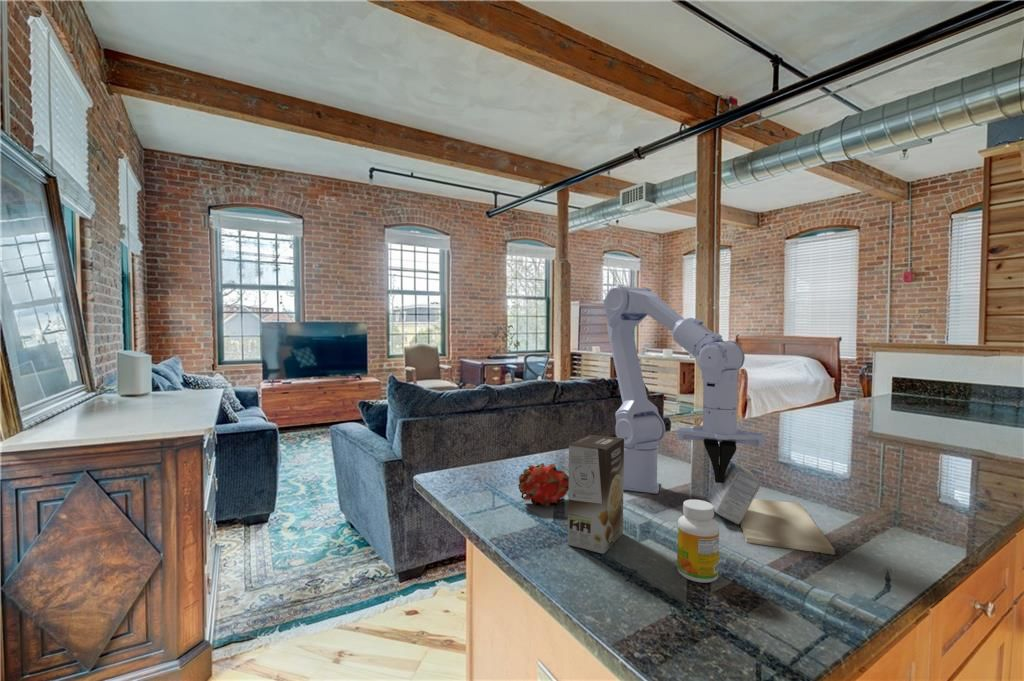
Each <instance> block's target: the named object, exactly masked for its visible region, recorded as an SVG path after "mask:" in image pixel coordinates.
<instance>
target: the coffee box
mask: <svg viewBox="0 0 1024 681" xmlns="http://www.w3.org/2000/svg"><path fill="white" fill-rule="evenodd" d="M568 477H569V485H568V492H567V494H568V495H567V498H568V499H567V501H568V502H567V504H568V505H567V506H568V507H567V545H568V546H569V547H570V546H571V547H575V548H578V549H583V550H587V551H590V552H594V553H599V554H602V555H603V554H605V553H606V552H607V551H608V550H610V548H611V547H612V546H613V545H614V544H615V543H616V541H617V540H618V539H619V538H620V537H621V536H622V535H623V532H624V531H623V530H624V490H623V486H624V439H623V438H617V436H609V435H608V436H607V435H597V434H588V435H586V436H584V437H582V438H580V439H577V440H575V441H572V442H570V443H569V444H568Z"/></svg>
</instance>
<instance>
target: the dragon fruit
mask: <svg viewBox="0 0 1024 681" xmlns="http://www.w3.org/2000/svg"><path fill="white" fill-rule="evenodd" d="M527 467H528V468H526V469H524V470H523V473H521V474H520V475H519V477H518V478H519V479H518V482H519V484H517V486H518V490H519V492H520V493H521V498H522V499H523V500H524V501H531V504H532V505H537V504H538V503H540V504H541V505H542V506H545V507H549V506H550V504H557V505H559V504H561V503H562V502H563V501H565V499H564V498H563V497H564V496H566V495H567V494H568V485H569V474H567V473H565V471H564V470H562V469H561V470H559V469H557V467H556V465H555V464H554V463H551V464H549V465H548V466H546V465H545V463H543V462H542V463H540V464H538V465H536V466H535V465H532V464H528V466H527ZM524 495H525V496H524Z"/></svg>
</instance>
